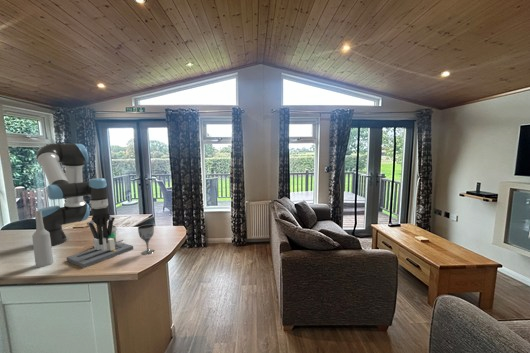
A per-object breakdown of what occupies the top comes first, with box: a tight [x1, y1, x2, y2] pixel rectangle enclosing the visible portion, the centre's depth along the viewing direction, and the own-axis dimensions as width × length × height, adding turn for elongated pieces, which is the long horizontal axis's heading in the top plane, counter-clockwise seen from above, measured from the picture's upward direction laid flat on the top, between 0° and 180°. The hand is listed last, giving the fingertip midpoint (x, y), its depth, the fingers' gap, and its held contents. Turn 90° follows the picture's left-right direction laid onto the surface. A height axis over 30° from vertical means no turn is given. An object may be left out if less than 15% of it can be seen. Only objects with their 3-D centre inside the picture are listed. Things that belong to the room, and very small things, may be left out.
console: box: [66, 239, 134, 269], centre depth 129 cm, size 18×25×4 cm
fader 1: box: [93, 237, 101, 250], centre depth 131 cm, size 4×2×6 cm, turn 61°
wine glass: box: [137, 223, 156, 256], centre depth 130 cm, size 8×8×15 cm
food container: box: [97, 225, 118, 244], centre depth 145 cm, size 12×6×10 cm, turn 168°
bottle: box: [31, 210, 54, 268], centre depth 118 cm, size 7×7×28 cm
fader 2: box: [107, 238, 115, 251], centre depth 129 cm, size 4×2×6 cm, turn 61°
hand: (104, 249), depth 127 cm, fingers closed
